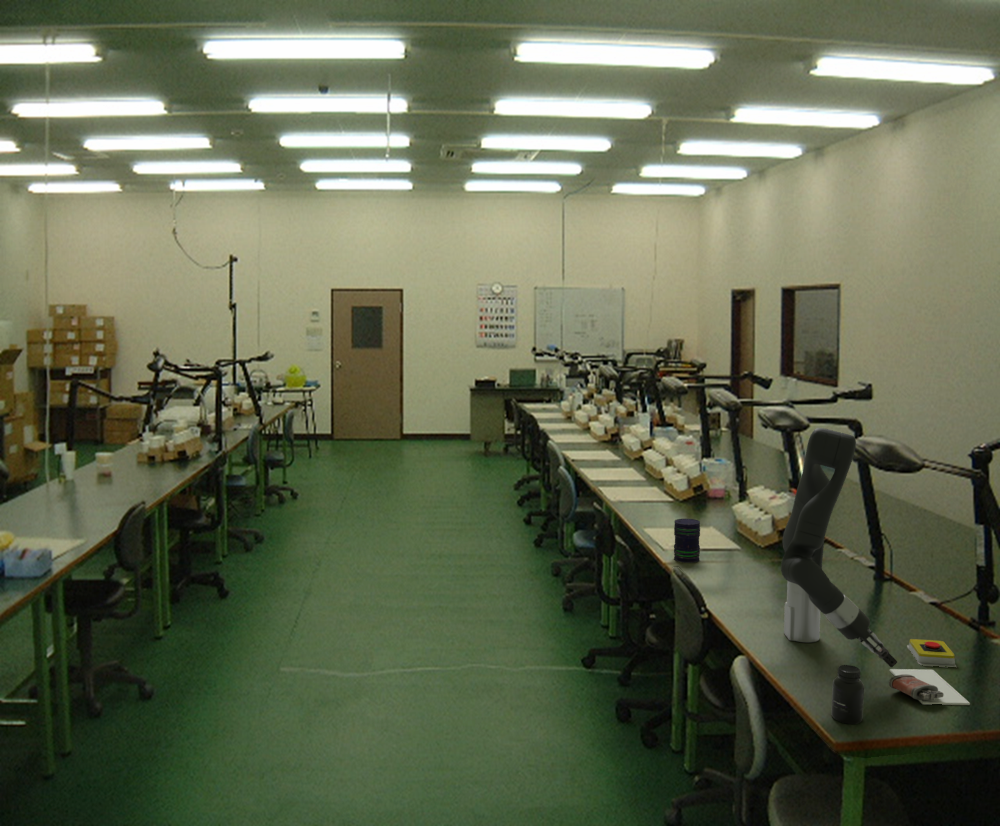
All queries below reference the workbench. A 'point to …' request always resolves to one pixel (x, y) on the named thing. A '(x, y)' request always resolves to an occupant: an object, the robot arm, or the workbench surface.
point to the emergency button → (932, 653)
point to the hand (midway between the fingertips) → (893, 663)
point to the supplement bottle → (847, 695)
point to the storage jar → (686, 540)
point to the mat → (934, 679)
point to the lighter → (914, 687)
